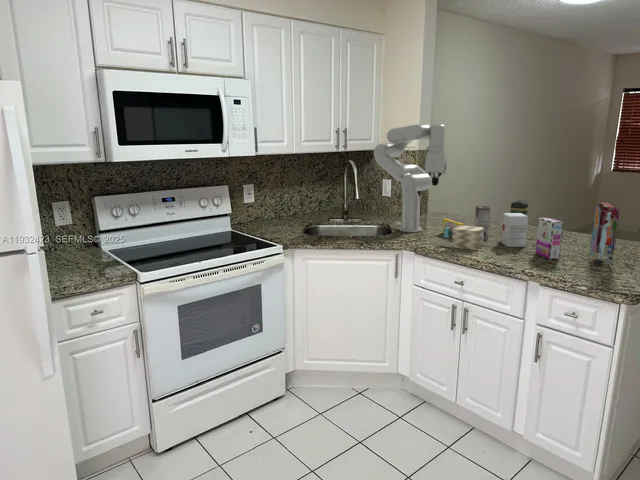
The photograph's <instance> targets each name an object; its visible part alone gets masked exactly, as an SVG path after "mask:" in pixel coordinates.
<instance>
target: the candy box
mask: <svg viewBox="0 0 640 480" xmlns="http://www.w3.org/2000/svg"><path fill="white" fill-rule="evenodd" d="M458 225H463V226H465V224H464V223H462V222H459V221H455V220H452V219H449V218H442V234H444V228H446V227H451V231H453V228H455V227H457V226H458ZM450 237H452V235H451V236H450Z"/></svg>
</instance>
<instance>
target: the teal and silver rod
mask: <svg viewBox="0 0 640 480" xmlns="http://www.w3.org/2000/svg"><path fill="white" fill-rule="evenodd" d="M451 235H453V231H451V227H446V228H444V233H443V238H447V239H448V238H450V237H452V236H451ZM483 237H484V234H482V233H480V238H483Z"/></svg>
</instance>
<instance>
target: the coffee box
mask: <svg viewBox="0 0 640 480" xmlns="http://www.w3.org/2000/svg"><path fill="white" fill-rule="evenodd" d="M474 215H475V216H474V227H484V237H483V241H484V240H487V241H488V240H489V236H490V234H489V233H490V221H491V220H490V219H491V208H490V207H489V206H488V205H475V214H474Z"/></svg>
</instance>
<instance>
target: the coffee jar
mask: <svg viewBox="0 0 640 480" xmlns="http://www.w3.org/2000/svg"><path fill="white" fill-rule="evenodd" d="M528 211H529V203H528V202H527V200H521V199H519V200H516V201H513V202H511V203H510V211H509V213H522V214H524V215H526V216H528Z"/></svg>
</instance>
